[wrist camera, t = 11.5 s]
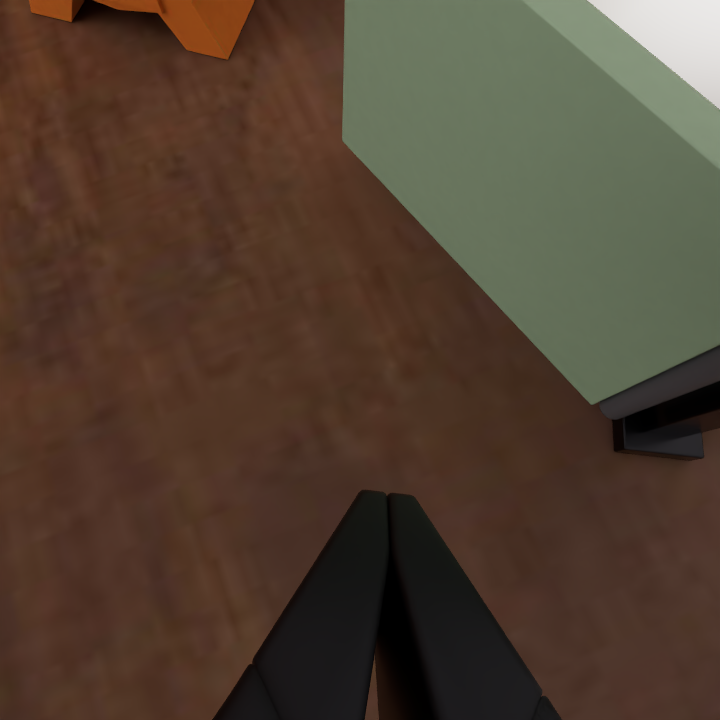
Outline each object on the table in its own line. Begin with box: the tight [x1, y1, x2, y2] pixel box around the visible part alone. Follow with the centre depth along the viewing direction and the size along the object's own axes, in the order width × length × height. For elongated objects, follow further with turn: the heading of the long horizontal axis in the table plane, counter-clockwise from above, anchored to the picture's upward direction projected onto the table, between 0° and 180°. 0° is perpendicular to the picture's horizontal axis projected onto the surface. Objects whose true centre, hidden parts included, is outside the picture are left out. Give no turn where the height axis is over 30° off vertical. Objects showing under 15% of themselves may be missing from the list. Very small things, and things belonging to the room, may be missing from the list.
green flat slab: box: [342, 0, 720, 420], centre depth 16 cm, size 16×3×10 cm, turn 39°
